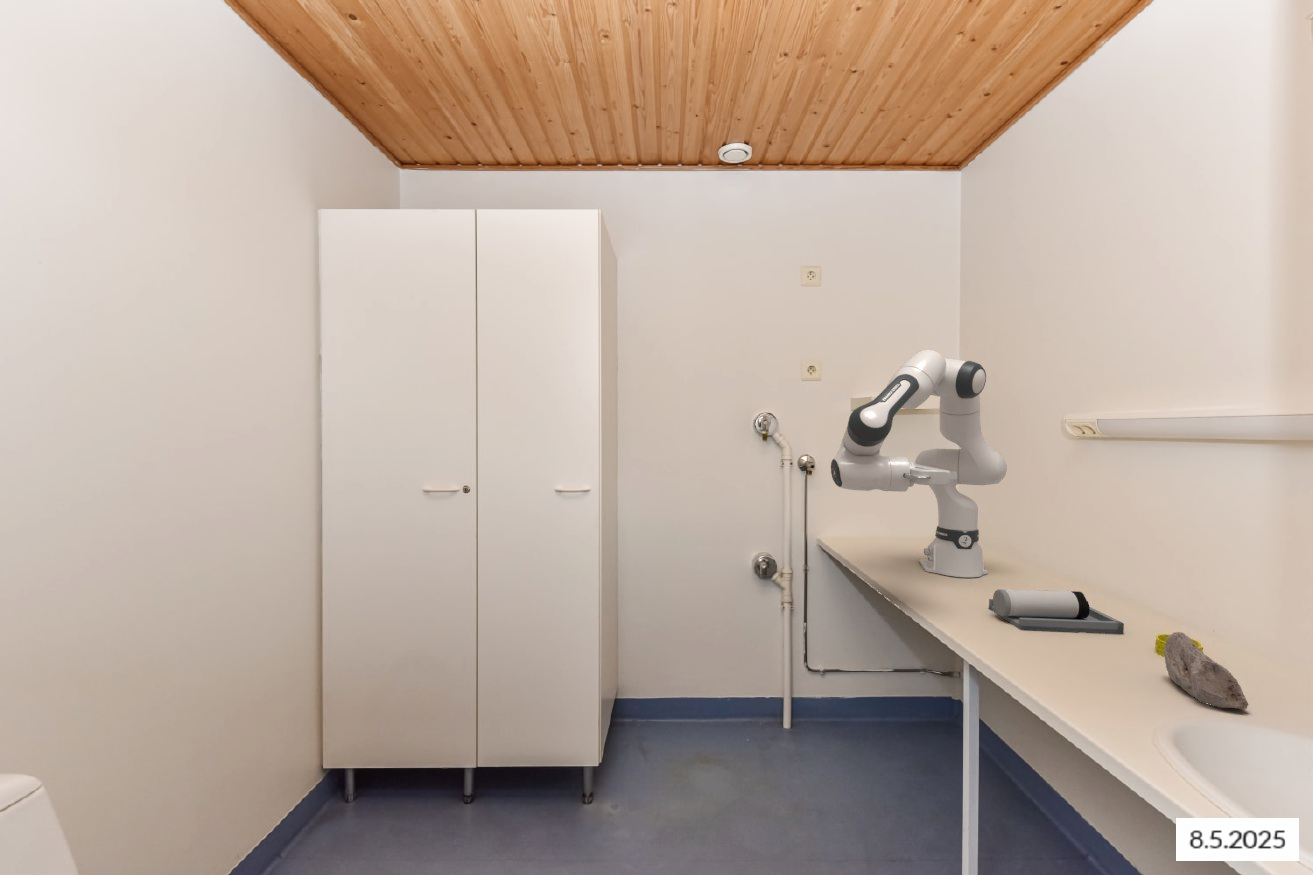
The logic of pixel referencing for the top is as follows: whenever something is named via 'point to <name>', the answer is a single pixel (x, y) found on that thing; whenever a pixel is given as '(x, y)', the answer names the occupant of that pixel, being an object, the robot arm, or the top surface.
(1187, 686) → the pumice stone
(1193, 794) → the top surface
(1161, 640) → the bracelet
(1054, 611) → the travel mug
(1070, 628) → the slate tray
